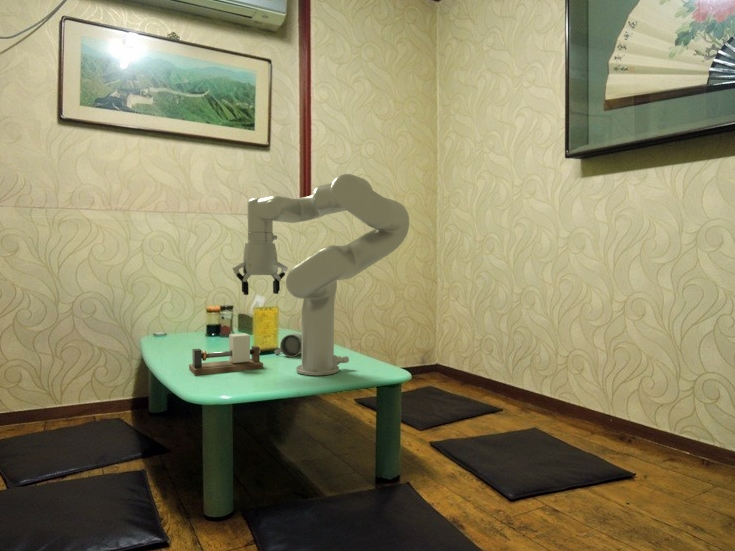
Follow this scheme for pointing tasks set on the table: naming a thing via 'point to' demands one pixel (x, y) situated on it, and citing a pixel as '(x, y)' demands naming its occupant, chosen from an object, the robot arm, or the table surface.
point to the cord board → (229, 365)
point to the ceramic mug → (290, 345)
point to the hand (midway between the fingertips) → (261, 294)
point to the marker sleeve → (239, 347)
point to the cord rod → (208, 356)
